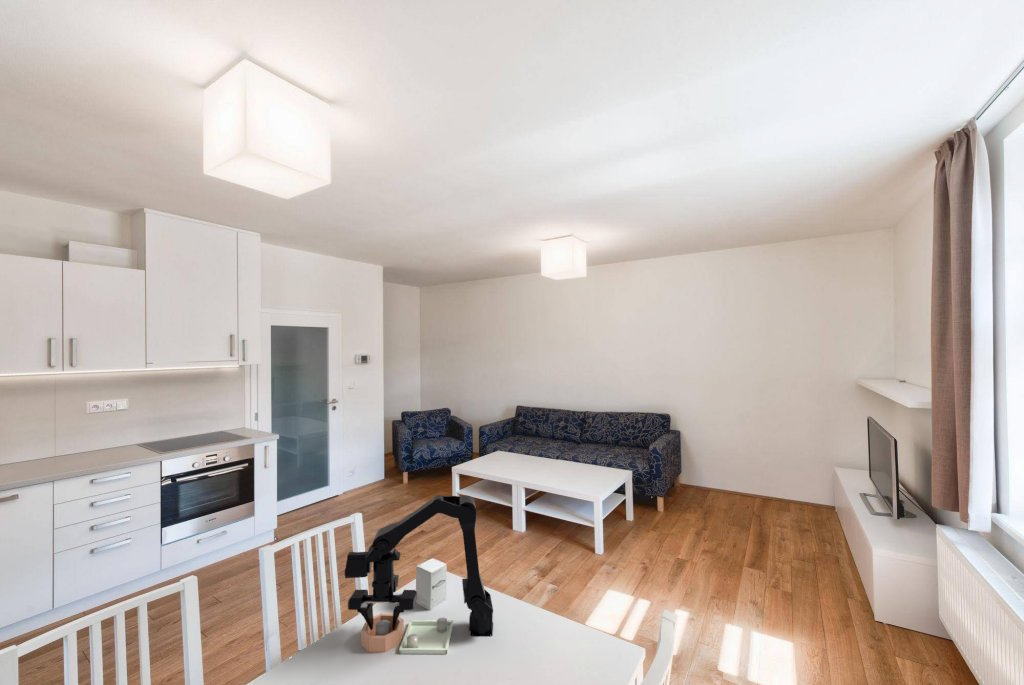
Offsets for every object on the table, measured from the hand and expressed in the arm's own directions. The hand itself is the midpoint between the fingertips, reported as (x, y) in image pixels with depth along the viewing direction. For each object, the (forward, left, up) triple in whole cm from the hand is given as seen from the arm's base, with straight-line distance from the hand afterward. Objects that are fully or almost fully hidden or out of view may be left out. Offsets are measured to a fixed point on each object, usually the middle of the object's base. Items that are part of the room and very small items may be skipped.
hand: (382, 629), depth 124 cm
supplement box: (-10, -18, -3) cm, 22 cm away
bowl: (0, 0, -3) cm, 3 cm away
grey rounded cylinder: (0, 0, -3) cm, 3 cm away
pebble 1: (-9, +4, -3) cm, 11 cm away
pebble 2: (-16, -4, -3) cm, 17 cm away
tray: (-13, 0, -3) cm, 13 cm away
